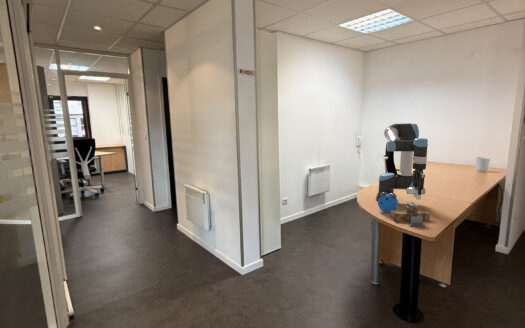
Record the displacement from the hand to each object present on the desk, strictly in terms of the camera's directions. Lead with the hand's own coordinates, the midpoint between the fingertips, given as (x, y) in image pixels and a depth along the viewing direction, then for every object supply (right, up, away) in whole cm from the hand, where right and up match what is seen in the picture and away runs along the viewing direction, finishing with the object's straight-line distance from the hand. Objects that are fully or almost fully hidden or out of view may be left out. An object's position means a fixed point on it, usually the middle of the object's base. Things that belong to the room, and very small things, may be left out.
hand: (417, 198), depth 181 cm
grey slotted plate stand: (0, -18, +3) cm, 18 cm away
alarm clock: (-7, -14, +28) cm, 32 cm away
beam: (+3, -16, +13) cm, 21 cm away
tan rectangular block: (+1, -11, +12) cm, 16 cm away
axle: (-1, +3, 0) cm, 3 cm away
